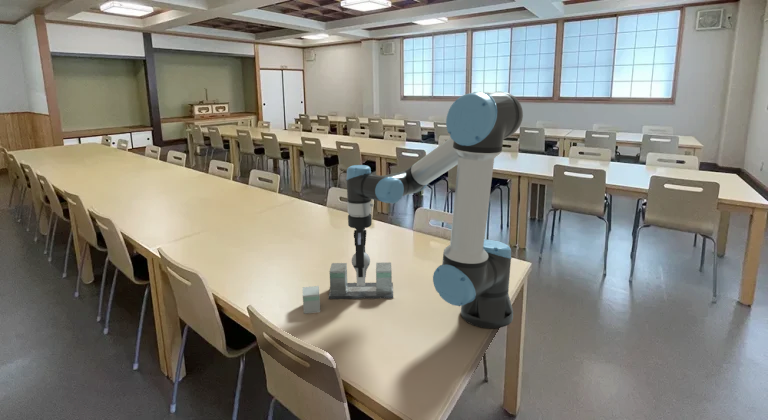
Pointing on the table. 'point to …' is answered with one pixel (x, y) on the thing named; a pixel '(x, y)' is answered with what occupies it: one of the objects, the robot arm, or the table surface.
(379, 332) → the table surface
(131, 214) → the table surface
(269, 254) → the table surface
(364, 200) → the robot arm
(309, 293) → the module
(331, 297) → the grey u-shaped piece
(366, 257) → the lightbulb
